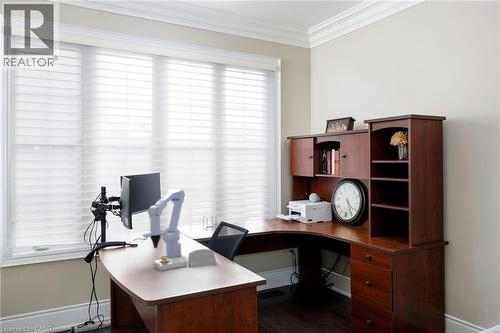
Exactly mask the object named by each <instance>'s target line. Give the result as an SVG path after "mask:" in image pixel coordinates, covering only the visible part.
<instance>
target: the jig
mask: <svg viewBox="0 0 500 333" xmlns="http://www.w3.org/2000/svg"><path fill="white" fill-rule="evenodd" d="M153 267H155V268H156V269H157V270H158V271H159V272H162V270H163V271H167V270H174V269H178V268H185V267H188V261H187V260H186V259H184V258H182V257H181V256H177V257H171V258H167V263H163V264H162V263H161V259H157V260H153Z"/></svg>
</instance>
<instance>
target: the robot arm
mask: <svg viewBox="0 0 500 333" xmlns="http://www.w3.org/2000/svg"><path fill="white" fill-rule="evenodd" d="M185 195H186V194H185V191H184V189H174V188H173V189H172V188H170V189H168V190H167V194H166V195H165V196H164V197H163V199H161V198H159V199H158V201H157V202H156V203H155V204H154V205H151V206H150V207H149V208H148V210H147V213H148V216H149V220H150V227H149V229H150V232H147V233H143V234H142V237H143V238H144V239H146V238H149V239H151V242H152V244H153V248H154V249H157V248H158V247H159V246H158V245H159V242H160V240H161V238H162V240H163V242H164V244H165V254H163V256H168V258H174V257H182V245H181V242H180V239H181V237H180V236H181V232H180V230H179V229H178V226H179V225H178V224H179V221H180V216H181V210H182V206H183V203H184V200H185ZM170 201H171V203H172V204H173V207H172V211H171V216H170V222H169V225H168V227H167V228H165V229H164V231H161V215H162V213H163V211H164V210H165V208H166V207H167V205H168V203H169V202H170ZM168 258H167V259H168Z"/></svg>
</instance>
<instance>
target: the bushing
mask: <svg viewBox="0 0 500 333" xmlns="http://www.w3.org/2000/svg"><path fill="white" fill-rule="evenodd" d="M159 258H160V259H159V260H161V263H162V264H163V263H167V259H168V256H164V255H162V256H160V257H159Z"/></svg>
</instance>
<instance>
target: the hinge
mask: <svg viewBox="0 0 500 333" xmlns="http://www.w3.org/2000/svg"><path fill="white" fill-rule="evenodd" d="M216 259H217V258H216V255H215V251H214V250H212V249H208V248H200V249H196V250H193V251H191V252H189V253H188V261H187V266H189V268H193V267H194V268H195V267H196V268H197V267H205V266H211V265H212V266H213V265H217V260H216Z"/></svg>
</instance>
